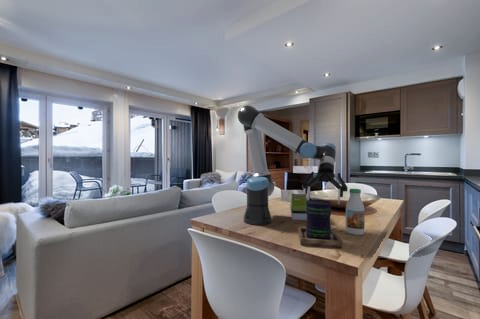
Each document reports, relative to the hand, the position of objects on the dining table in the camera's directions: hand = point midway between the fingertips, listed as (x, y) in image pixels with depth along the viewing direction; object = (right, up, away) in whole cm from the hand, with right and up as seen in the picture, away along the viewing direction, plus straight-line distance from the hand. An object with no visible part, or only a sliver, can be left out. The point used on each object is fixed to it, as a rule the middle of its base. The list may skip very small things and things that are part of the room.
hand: (322, 200), depth 103 cm
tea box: (-3, -15, +28) cm, 32 cm away
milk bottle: (+15, -15, 0) cm, 21 cm away
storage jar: (-5, -14, -9) cm, 17 cm away
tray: (-5, -15, -9) cm, 18 cm away
